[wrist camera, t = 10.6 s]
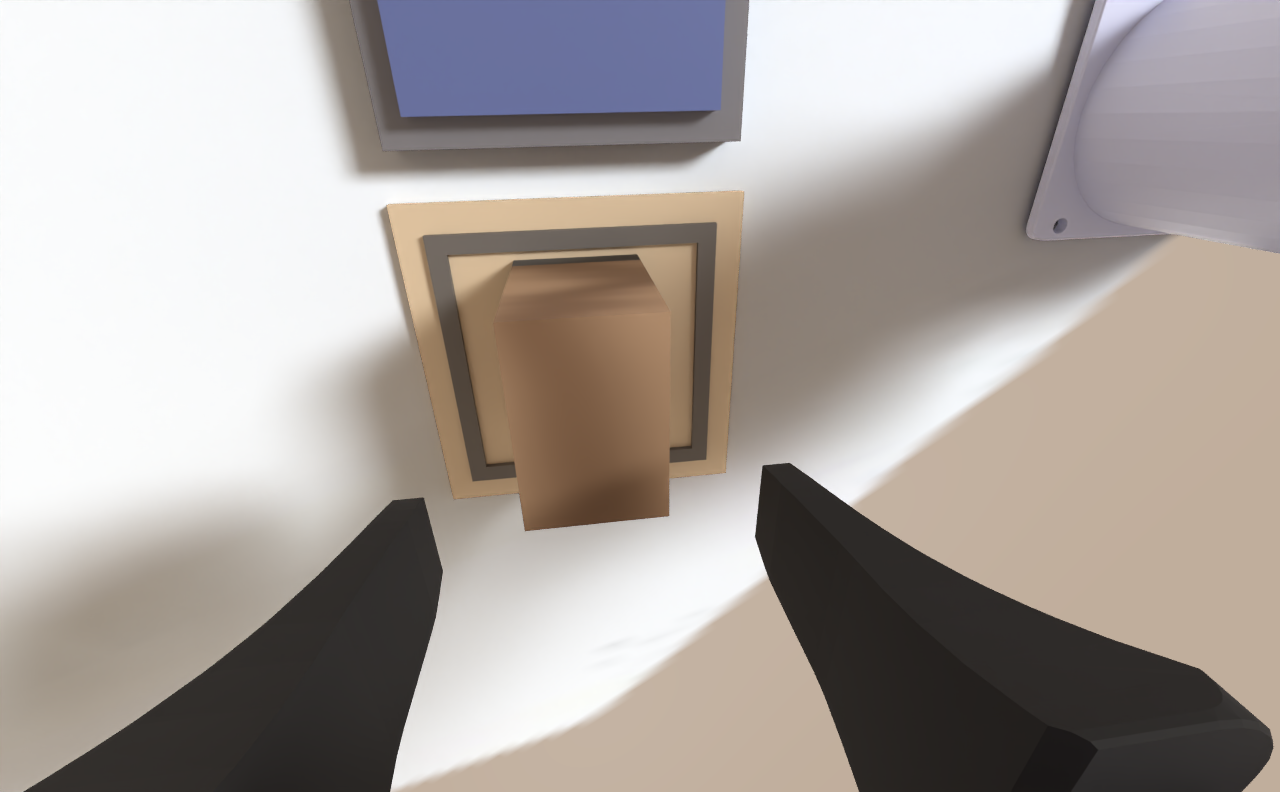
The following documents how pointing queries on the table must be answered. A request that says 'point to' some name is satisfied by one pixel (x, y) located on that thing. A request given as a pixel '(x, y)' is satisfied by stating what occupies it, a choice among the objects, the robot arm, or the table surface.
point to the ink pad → (553, 71)
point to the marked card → (562, 228)
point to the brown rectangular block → (586, 389)
